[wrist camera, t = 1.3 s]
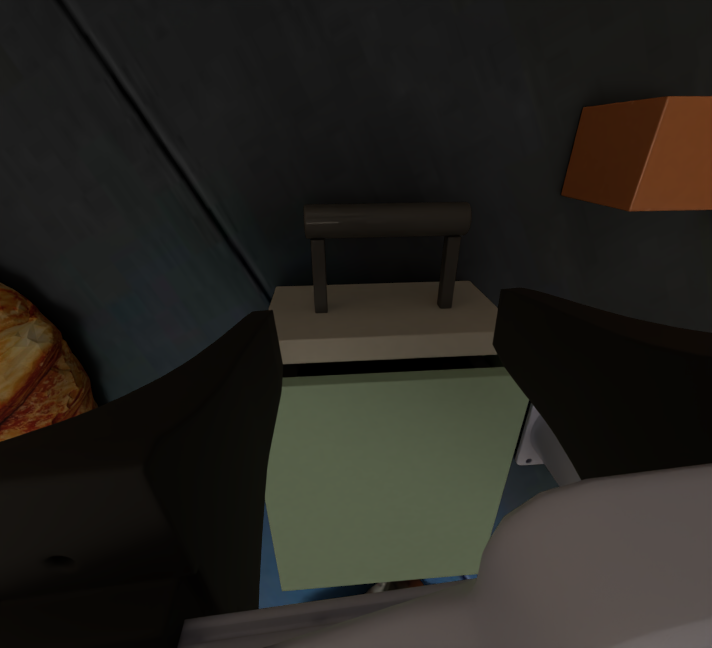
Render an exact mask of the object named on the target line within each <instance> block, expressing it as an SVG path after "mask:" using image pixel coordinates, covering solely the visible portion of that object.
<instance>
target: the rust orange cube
mask: <svg viewBox="0 0 712 648" xmlns="http://www.w3.org/2000/svg"><path fill="white" fill-rule="evenodd" d="M561 195H562V196H565V197H569V198H574V199H578V200H582V201H587V202H591V203H595V204H600V205H604V206H608V207H612V208H617V209H621V210H625V211H677V210H712V96H666V97H658V98H650V99H643V100H635V101H627V102H620V103H612V104H604V105H597V106H589V107H584V108H583V110H582V114H581V118H580V122H579V125H578V129H577V133H576V137H575V141H574V145H573V149H572V153H571V157H570V161H569V165H568V169H567V173H566V177H565V181H564V185H563V189H562V193H561Z"/></svg>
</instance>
